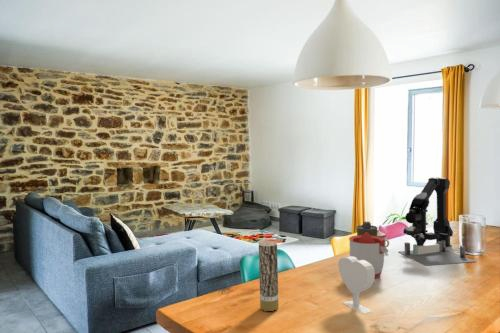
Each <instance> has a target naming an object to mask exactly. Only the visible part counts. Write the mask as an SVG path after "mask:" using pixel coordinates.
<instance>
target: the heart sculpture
mask: <svg viewBox="0 0 500 333" xmlns="http://www.w3.org/2000/svg"><path fill="white" fill-rule="evenodd" d="M338 272H339V275H340V278H341V280H342V282H343V283H344V285H345V286H346V287H347V289H348V290H349V292H350V293H351V294H352V300H351V301H346V300H345V301H346V302H343V303H344V304H345V305H344V304H343V305H344V306H346V305H348V306H349V307H348V306H347V307H348V308H350V307H351V308H350V309H352V308H353V309H352V310H354V309H355V310H354V311H356V310H358V311H359V312H358V311H357V312H358V313H360V312H362V313H367V312H370V311H371V310H372V309H370V308H368V307H365V306H364V305H361V304H360V301H361V300H360V297H361V296H360V293H362V292H363V291H365V290H369V288H371V287H372V285H373V283H374V282H375V279H376V278H375V270H374V267H373V266H372V265H371V264H370V263H369V262H367V261H366V260H358V259H357V258H356V257H353V256H350V255H349V256H345V257H340V258H339V259H338ZM362 313H361V314H362Z"/></svg>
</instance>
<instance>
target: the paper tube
mask: <svg viewBox="0 0 500 333" xmlns="http://www.w3.org/2000/svg"><path fill="white" fill-rule="evenodd" d="M258 261H259V262H258V266H259V267H258V268H259V270H258V271H259V272H258V273H259V302H260V303H259V306H260V309H261V311H263V310H264V311H263V312H266V311H273V312H275V311H274V310H276V311H278V309H279V269H278V268H279V267H278V262H279V261H278V242H277V241H275V240H270V239H269V240H268V239H267V240H266V239H265V240H260V241H259V242H258Z"/></svg>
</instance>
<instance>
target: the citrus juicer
mask: <svg viewBox="0 0 500 333" xmlns="http://www.w3.org/2000/svg"><path fill="white" fill-rule="evenodd" d="M348 241H349V256H353V257H356V258H357V259H358V260H366V261H367V262H369V263H370V264H371V265H372V266H373V267H374V270H375V278H374V279H378V278H379V277H381V274H382V272H383V269H384V268H383V267H384V263H385V255H387V254H389V249H388V247H386V248H385V244H384V239H383V238H381V237H377V236H370V235H369V234H368V233H367V232H366V233H364V234H363V235H358V236H357V235H352V236H350V237H349V238H348Z"/></svg>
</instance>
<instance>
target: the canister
mask: <svg viewBox="0 0 500 333" xmlns="http://www.w3.org/2000/svg"><path fill="white" fill-rule="evenodd" d="M371 224H372V223H371V221H363V223H362V225H361V224H360V225H358V226H356V236H358V235H363V234H364V233H366V232H367V233H368V234H369V235H370V236H377V229H378V226H376V225H371Z"/></svg>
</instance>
